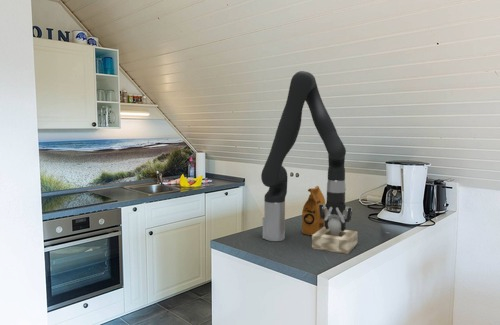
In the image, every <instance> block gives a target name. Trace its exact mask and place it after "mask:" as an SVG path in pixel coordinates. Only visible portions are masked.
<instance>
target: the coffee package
mask: <svg viewBox="0 0 500 325" xmlns="http://www.w3.org/2000/svg"><path fill="white" fill-rule="evenodd" d="M307 192H308V193H310V194H309V195H308V198H307V200H306V201H305V203H304V205H303V207H302V210H301V211H302V213H301V216H302V219H301V220H302V223H301V226H302V227H301V232H302V234H303V235H307V236H312V235H313V234H315V233H316V232H317V231H319V230H320V229H322V228H323V227H325V220H324V219H321V218H320V210H319V205H320V204H326V201H325V199H326V198H325V196H324V194H323V193H322V191H321V188H320V186H319V185H316V186H315V187H314V188H308V189H307ZM326 211H327V208H326V207H325V209H324V212H325V216H326V214H327V212H326Z"/></svg>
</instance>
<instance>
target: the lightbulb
mask: <svg viewBox="0 0 500 325" xmlns="http://www.w3.org/2000/svg"><path fill="white" fill-rule="evenodd" d="M341 223H342V221H341V218H340V217H339V216H338V217H337V216H334V217H331V218H329V221H328V227H329V229H330V231H331V235H332V236H339V233H340V230H341Z"/></svg>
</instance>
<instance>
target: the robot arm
mask: <svg viewBox="0 0 500 325" xmlns="http://www.w3.org/2000/svg"><path fill="white" fill-rule="evenodd" d="M305 102H306V104H307V106H308V110H309V111H310V115H311V119H312V122H313V125H314V127H315V129H316V131H317V133H318V135H319V137H320V139H321V140H322V142H323V145H324V147H325V150H326V151H327V154H328V157H327V158H328V168H327V183H326V202H325V204H320V205H319V210H320V218H321V219H324V220H325V228H326V229H329V227H328V221H329V220H330V217H331V216H332V215H336V216H338V218H339V219H341V221H342V223H341V231H344V230H347V223H349V222H350V221H351V220H352V215H353V209H354V208H353V207H352V206H347V205H346V169H345V162H346V161H345V160H346V153H347V149H346V147H345V145H344V143H343V141H342V139H341V137H340V136H339V134H338V131H337V129H336V126H335V125H334V122H333V120H332V118H331V117H330V114H329V113H328V110H327V108H326V106H325V104H324V103H323V100H322V97H321V94H320V91H319V88H318V85H317V81H316V78H315V75H313V73H311V72H309V71H304V70H300V71H298V72H295V74H294V75H292V78H291V79H290V83H289V88H288V94H287V98H286V103H285V104H284V108H283V111H282V113H281V116H280V120H279V121H278V124H277V129H276V131H275V136H274V139H273V140H272V141H273V142H272V145H271V148H270V151H269V153H268V157H267V159H266V161H265V163H264V166H263V169H262V171H261V175H260V177H261V179H260V180H261V182H262V184H263V186H265V187H267V188H268V190H267V192H266V193H265V194H264V199H263V200H264V201H263V202H264V206H263V207H264V208H263V209H264V210H263V211H264V215H263V218H262V239H264V240H266V241H270V242H281V241H284V240H285V238H286V237H285V235H286V233H285V232H286V227H285V226H286V224H285V223H286V196H287V193H288V173H287V169H286V168H285V167H284V166H283V163H284V160H285V159H286V157H287V155H288V154H289V152H290V151H291V150H292V148H293V147H294V145H295V143H296V141H297V138H298V135H299V133H300V128H301V126H302V125H301V124H302V114H303V108H304V105H305ZM325 208H326V211H327V212H326V216H325V212H324V209H325ZM345 210H346V213H347V215H345Z"/></svg>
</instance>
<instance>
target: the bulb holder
mask: <svg viewBox="0 0 500 325" xmlns="http://www.w3.org/2000/svg"><path fill="white" fill-rule="evenodd" d="M358 235H359V234H358V231H357V230H349V229H345V230H344V231H341V230H340V233H339V236H332V235H331V231H330V229H326V228H325V227H323V228H322V229H320V230H319V231H317V232H316V233H315V234H313V235H311V248H312V249H314V250H321V251H327V252H331V253H337V254H338V253H339V254H345V255H349V254H350V253H351V252H352V250H354V248H355V247H356V246H357V245H358Z"/></svg>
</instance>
